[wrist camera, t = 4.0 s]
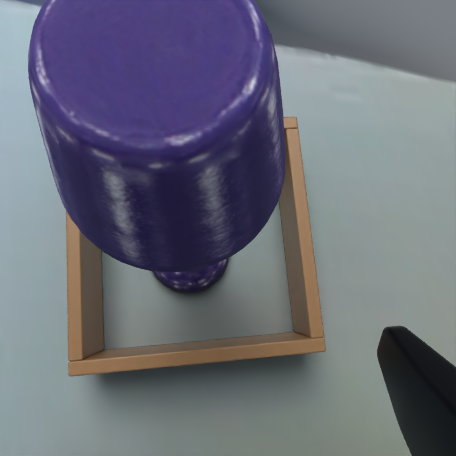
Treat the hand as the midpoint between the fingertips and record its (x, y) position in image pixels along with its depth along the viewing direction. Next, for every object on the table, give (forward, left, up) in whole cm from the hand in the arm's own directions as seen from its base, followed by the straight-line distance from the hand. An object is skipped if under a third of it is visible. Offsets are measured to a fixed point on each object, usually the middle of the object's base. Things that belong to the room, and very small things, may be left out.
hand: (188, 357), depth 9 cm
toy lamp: (+2, +4, -12) cm, 12 cm away
